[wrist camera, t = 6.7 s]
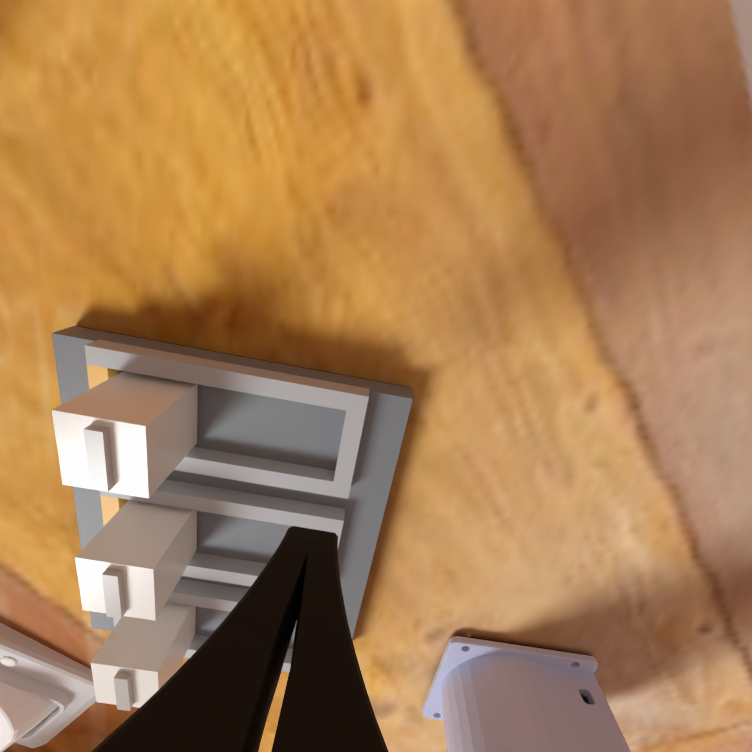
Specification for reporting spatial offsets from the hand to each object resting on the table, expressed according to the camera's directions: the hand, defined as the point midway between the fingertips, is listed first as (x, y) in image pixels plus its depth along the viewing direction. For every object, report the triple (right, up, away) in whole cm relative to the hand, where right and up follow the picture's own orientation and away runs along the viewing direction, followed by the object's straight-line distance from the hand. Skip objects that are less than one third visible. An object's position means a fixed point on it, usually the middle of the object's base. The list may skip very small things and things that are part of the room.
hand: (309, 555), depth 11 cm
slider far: (-10, -8, +10) cm, 16 cm away
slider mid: (-9, -2, +8) cm, 12 cm away
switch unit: (-6, -2, +9) cm, 11 cm away
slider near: (-7, +4, +5) cm, 10 cm away
